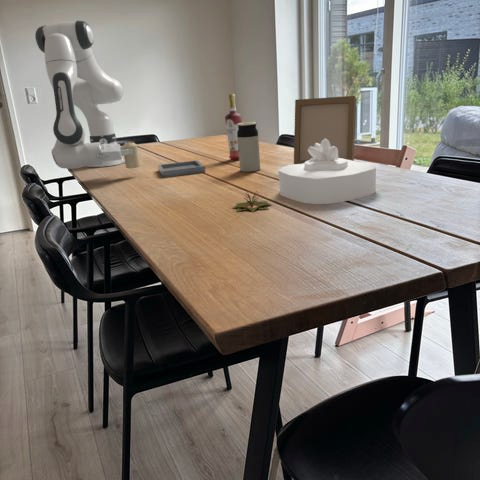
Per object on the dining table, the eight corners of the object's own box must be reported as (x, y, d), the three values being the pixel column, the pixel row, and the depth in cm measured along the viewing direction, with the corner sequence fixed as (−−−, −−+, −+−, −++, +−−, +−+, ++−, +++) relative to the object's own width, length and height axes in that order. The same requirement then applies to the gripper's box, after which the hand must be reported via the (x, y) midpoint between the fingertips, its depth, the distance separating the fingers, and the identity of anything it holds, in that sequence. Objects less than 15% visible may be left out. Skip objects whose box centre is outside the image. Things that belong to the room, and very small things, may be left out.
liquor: (248, 158, 209) (243, 93, 200) (239, 161, 204) (234, 94, 195) (234, 157, 213) (229, 94, 204) (225, 160, 208) (219, 95, 198)
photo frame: (351, 168, 168) (351, 96, 161) (293, 168, 177) (291, 100, 169) (358, 161, 181) (358, 94, 174) (303, 162, 190) (301, 98, 182)
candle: (136, 168, 184) (132, 142, 180) (123, 168, 185) (119, 143, 181) (142, 165, 189) (138, 140, 185) (129, 165, 190) (125, 141, 186)
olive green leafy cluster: (231, 204, 136) (230, 189, 134) (272, 201, 135) (271, 186, 134) (230, 216, 124) (228, 199, 123) (275, 212, 124) (274, 196, 122)
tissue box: (315, 208, 124) (313, 147, 119) (269, 192, 145) (266, 140, 140) (388, 192, 134) (389, 135, 128) (334, 179, 155) (334, 130, 150)
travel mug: (262, 168, 184) (259, 121, 178) (257, 172, 176) (253, 123, 171) (243, 168, 186) (240, 122, 180) (237, 172, 179) (233, 124, 173)
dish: (158, 170, 197) (157, 164, 196) (198, 165, 200) (197, 160, 200) (162, 177, 181) (161, 171, 180) (205, 172, 185) (204, 166, 184)
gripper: (94, 149, 171) (132, 145, 174) (96, 142, 190) (130, 138, 193) (97, 166, 173) (135, 162, 176) (98, 157, 192) (132, 154, 195)
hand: (132, 149), depth 185 cm, fingers closed on candle, 5 cm apart
